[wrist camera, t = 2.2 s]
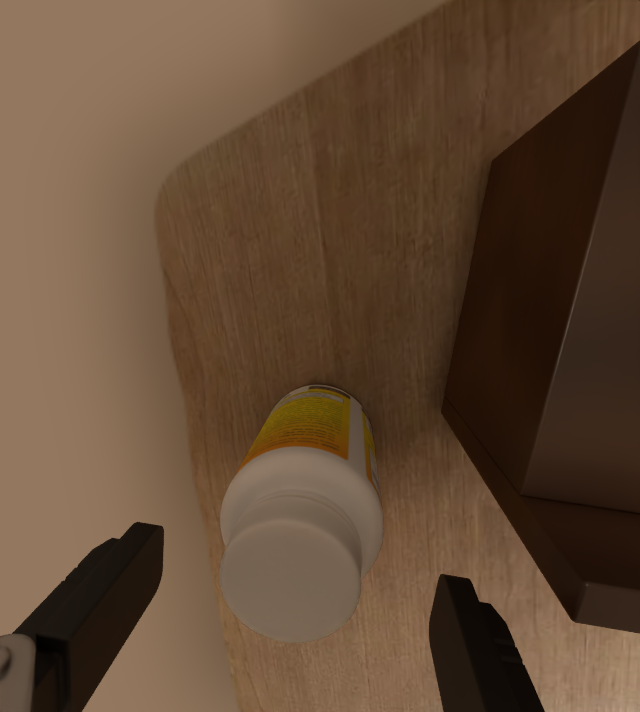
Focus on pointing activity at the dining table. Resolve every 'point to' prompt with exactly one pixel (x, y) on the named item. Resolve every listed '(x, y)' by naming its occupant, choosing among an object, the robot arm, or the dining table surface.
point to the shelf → (562, 346)
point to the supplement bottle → (303, 518)
